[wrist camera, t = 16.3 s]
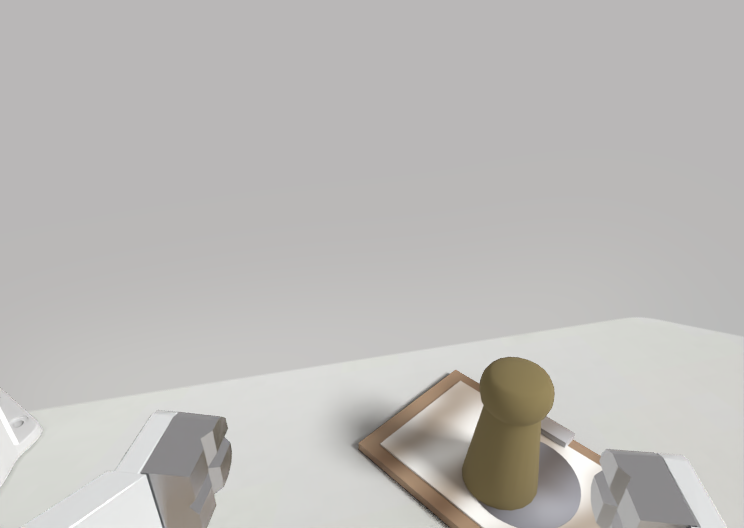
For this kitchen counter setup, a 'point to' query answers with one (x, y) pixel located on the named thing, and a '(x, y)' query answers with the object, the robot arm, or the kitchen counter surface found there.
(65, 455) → the kitchen counter surface
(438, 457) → the clipboard
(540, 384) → the cork
